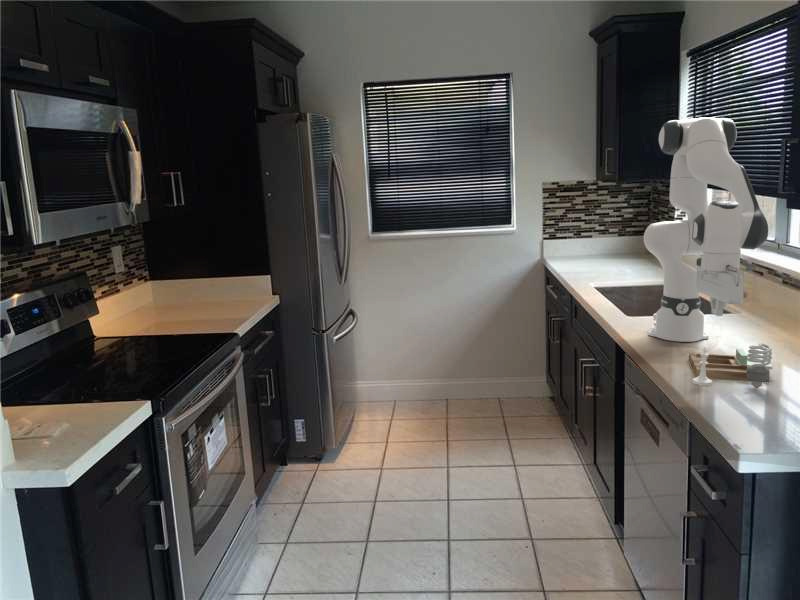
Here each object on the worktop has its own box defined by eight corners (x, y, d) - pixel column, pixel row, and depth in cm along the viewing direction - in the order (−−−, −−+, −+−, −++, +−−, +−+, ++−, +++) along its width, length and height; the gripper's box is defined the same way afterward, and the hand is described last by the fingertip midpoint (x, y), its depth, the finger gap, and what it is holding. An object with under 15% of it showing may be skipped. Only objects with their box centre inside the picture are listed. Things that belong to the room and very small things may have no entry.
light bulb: (758, 392, 172) (762, 347, 169) (739, 386, 177) (743, 342, 175) (773, 389, 174) (778, 344, 172) (754, 383, 179) (758, 339, 177)
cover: (734, 359, 192) (735, 347, 191) (765, 360, 190) (766, 349, 189) (739, 367, 184) (740, 355, 184) (772, 369, 182) (773, 357, 181)
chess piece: (706, 379, 183) (709, 344, 181) (715, 385, 178) (718, 349, 176) (688, 380, 182) (691, 344, 180) (697, 386, 178) (700, 349, 176)
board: (688, 360, 199) (689, 350, 198) (755, 365, 194) (756, 354, 194) (696, 377, 184) (697, 366, 183) (768, 382, 179) (769, 371, 179)
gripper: (752, 268, 165) (748, 323, 167) (716, 258, 185) (712, 307, 187) (727, 268, 165) (722, 323, 167) (693, 258, 185) (689, 307, 188)
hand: (716, 314), depth 178 cm, fingers closed
